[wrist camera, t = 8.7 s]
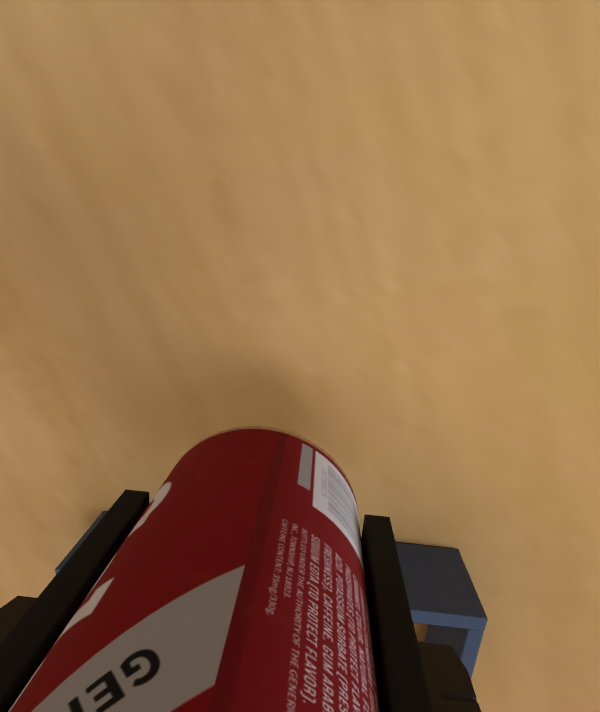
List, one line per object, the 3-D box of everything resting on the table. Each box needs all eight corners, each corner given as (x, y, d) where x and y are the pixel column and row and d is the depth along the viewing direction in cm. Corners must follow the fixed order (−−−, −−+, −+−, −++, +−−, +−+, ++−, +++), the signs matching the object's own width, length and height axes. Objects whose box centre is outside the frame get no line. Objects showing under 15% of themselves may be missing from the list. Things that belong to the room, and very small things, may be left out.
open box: (103, 510, 24) (54, 569, 20) (458, 548, 23) (488, 619, 19) (117, 670, 28) (79, 748, 24) (421, 708, 27) (439, 797, 23)
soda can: (341, 404, 13) (443, 1542, 2) (367, 567, 15) (501, 1658, 3) (151, 429, 14) (-694, 1334, 2) (197, 582, 16) (-161, 1520, 4)
